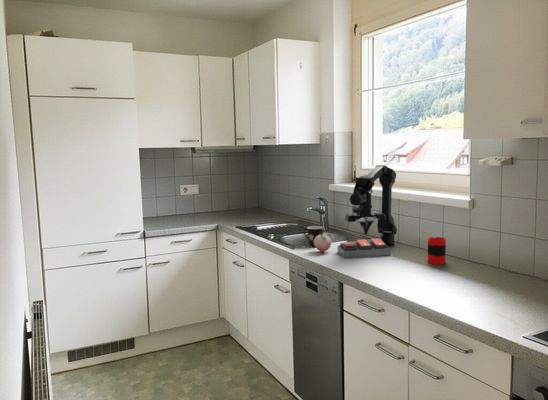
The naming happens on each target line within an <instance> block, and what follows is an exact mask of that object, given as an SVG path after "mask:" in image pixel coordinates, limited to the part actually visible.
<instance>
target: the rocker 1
mask: <svg viewBox="0 0 548 400" xmlns="http://www.w3.org/2000/svg"><path fill="white" fill-rule="evenodd" d="M341 243H342V244H343V245H344V246H355V242H341Z"/></svg>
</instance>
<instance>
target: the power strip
mask: <svg viewBox="0 0 548 400" xmlns="http://www.w3.org/2000/svg"><path fill="white" fill-rule="evenodd" d="M342 243H343V242H341V243H339V244H338V245H337V253H338V254H339V255H340V256H341V257H342V258H344V259H355V258H368V257H369V258H370V257H371V258H372V257H385V256H387V257H388V256H391V247H389V246H387V245H386V244H385V243H384V244H385V245H377V246H376V245H375V244H373V243H372V242H371V240H370V241H368V243H369V244H370V245H371V246H360V245H359V244H358V243H357V241H356V242H354V243H355V246H344V245H343V244H342Z"/></svg>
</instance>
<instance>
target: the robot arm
mask: <svg viewBox="0 0 548 400" xmlns="http://www.w3.org/2000/svg"><path fill="white" fill-rule="evenodd" d="M396 178H397V172H396V171H395V169H393V168H390V167H388V166H387V165H385V164H377V165H375V167H374V168H373V169H372V170H371V171H370V172H368V173H367V174H365V175H360V176H359V177H358V178H357V179H356V182H355V186H354V188H353V193H352V194H351V195H350V197H349V202H350V204H351V205H352V209H351V213H350V214H349V213H348V214H346V215H345V216H344V221H345V222H348V223H355V222H357V223H359V225H360V227H361V229H362V233H363V234H364V235H363V236H366V235H368V233H369V230H370V228H371V226H372V224H373V223H375V221H374V219H376V220H377V225H376V227H377V232H378V234H380V236H379V238H380V239H381V240H382V241H383V242H384V243H385V244H386V245H387V247H389V246H396V243H395V235H397V233H398V229H397V226H396V224H395V218H394V217H393V216H392V192H393V191H392V189H393V185H395V183H396ZM377 180H378V181H379V182H378V183H379V184H380V186H381V212H374V213H373V214H372V208H373V205H372V193H373V192H374V191H373V187H374V186H375V182H376V181H377ZM357 206H358V207H357Z"/></svg>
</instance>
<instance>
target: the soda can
mask: <svg viewBox="0 0 548 400" xmlns="http://www.w3.org/2000/svg"><path fill="white" fill-rule="evenodd" d="M446 242H447V240H446V239H445V237H444V236H443V235H439V234H438V235H437V234H436V235H429V237H428V239H427V263H428V264H431V265H436V266H437V265H438V266H439V265H445V263H446V250H447V249H446V246H447V245H446Z"/></svg>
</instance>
